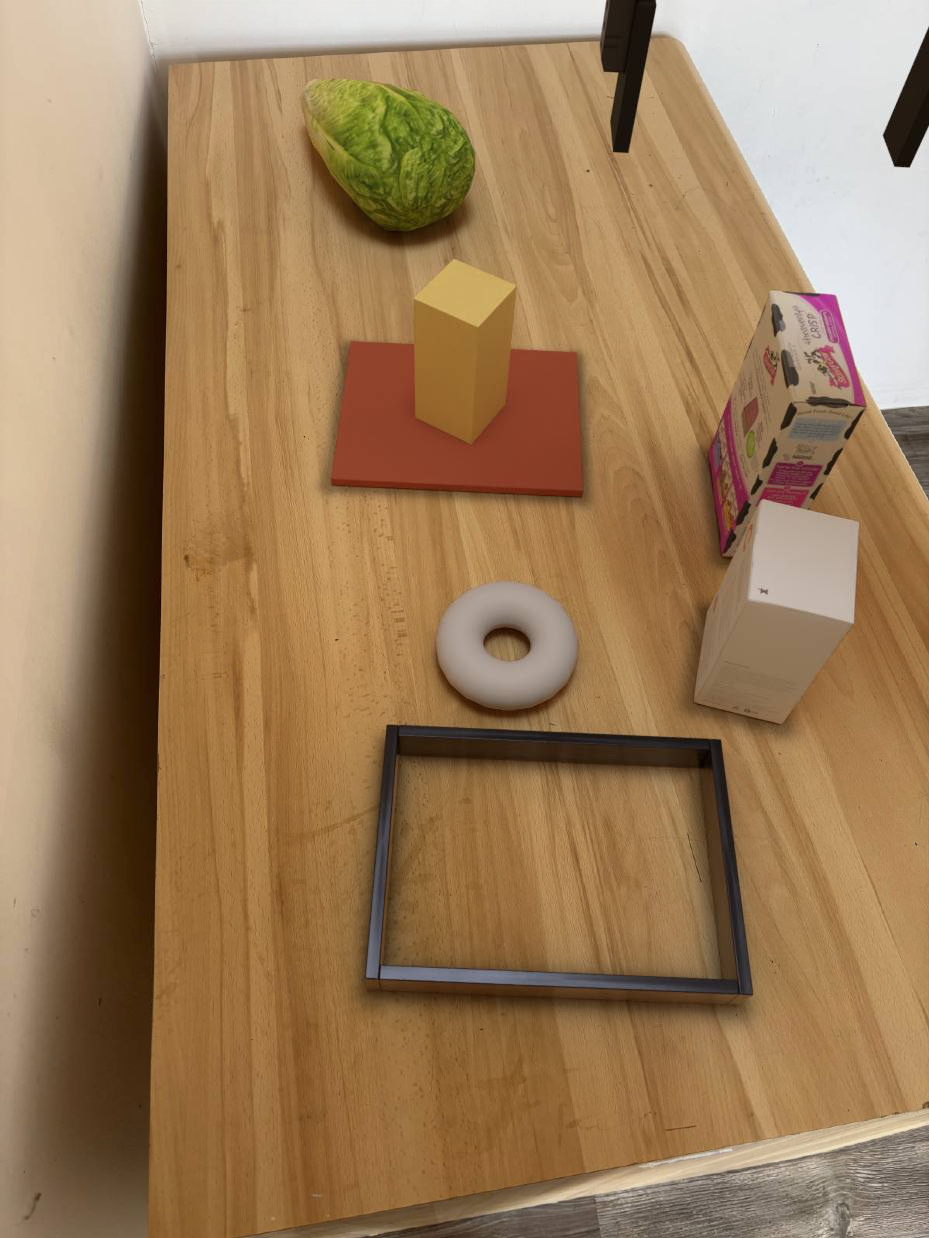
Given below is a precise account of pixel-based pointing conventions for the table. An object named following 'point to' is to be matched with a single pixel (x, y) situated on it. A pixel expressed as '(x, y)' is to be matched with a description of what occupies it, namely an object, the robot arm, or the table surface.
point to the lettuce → (390, 149)
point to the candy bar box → (785, 412)
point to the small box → (778, 611)
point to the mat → (432, 459)
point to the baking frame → (573, 750)
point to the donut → (505, 679)
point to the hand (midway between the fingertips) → (757, 145)
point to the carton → (462, 349)
